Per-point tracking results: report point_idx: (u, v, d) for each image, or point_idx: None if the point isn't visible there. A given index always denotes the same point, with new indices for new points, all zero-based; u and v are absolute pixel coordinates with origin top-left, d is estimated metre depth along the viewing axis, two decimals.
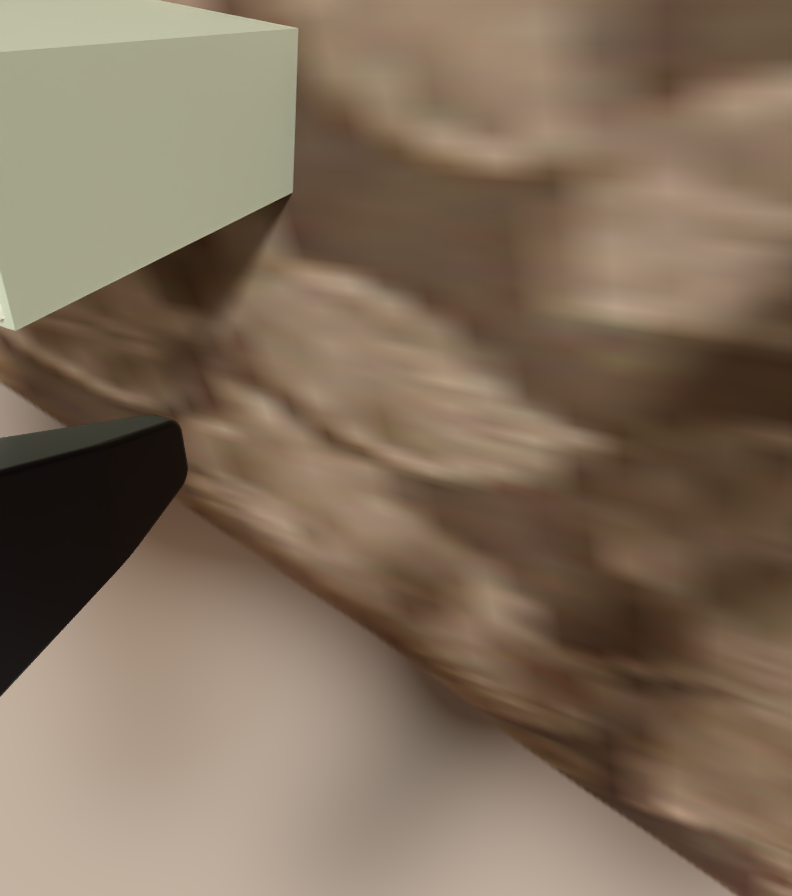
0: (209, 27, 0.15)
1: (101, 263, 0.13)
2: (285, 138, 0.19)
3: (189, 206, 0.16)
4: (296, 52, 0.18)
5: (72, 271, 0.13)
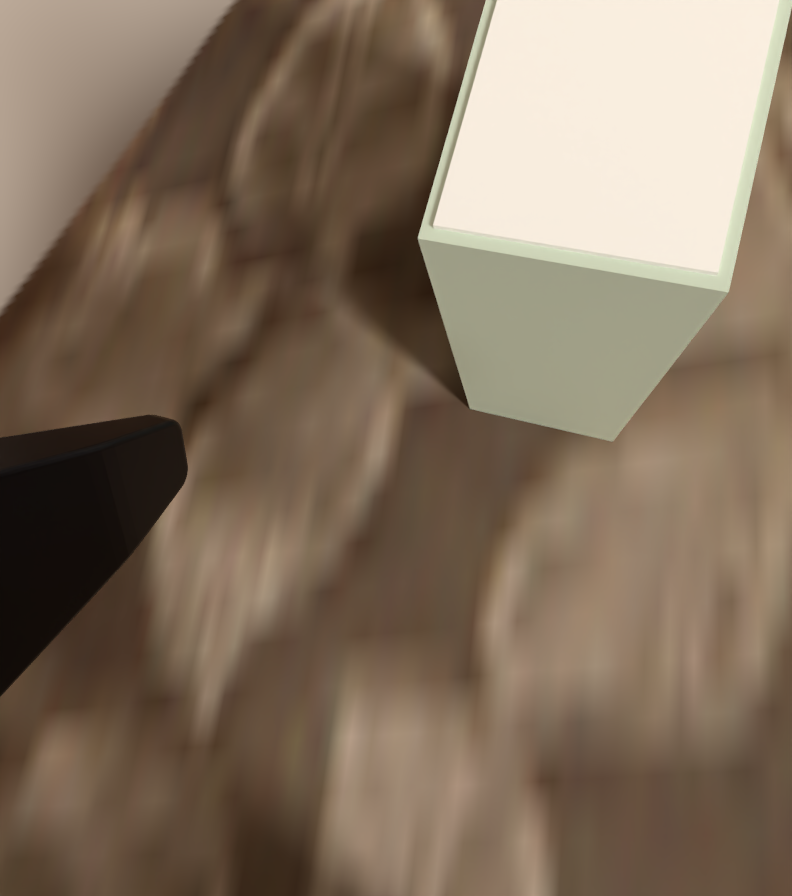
0: None
1: (463, 306, 0.12)
2: (523, 416, 0.19)
3: (491, 362, 0.15)
4: (593, 436, 0.19)
5: (465, 289, 0.11)
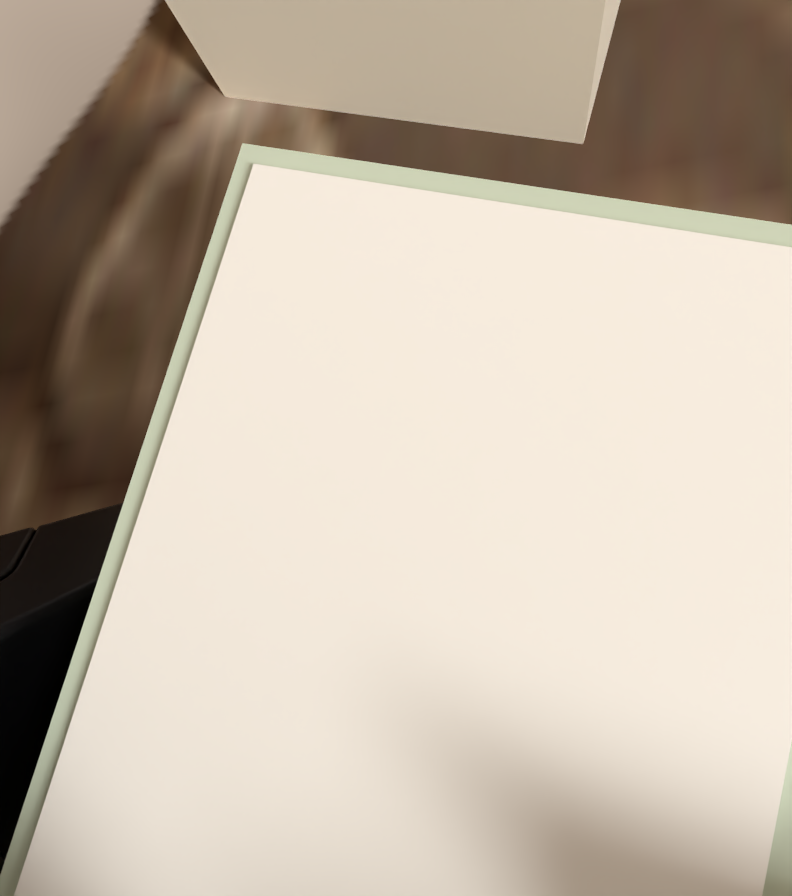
0: None
1: None
2: None
3: None
4: None
5: None
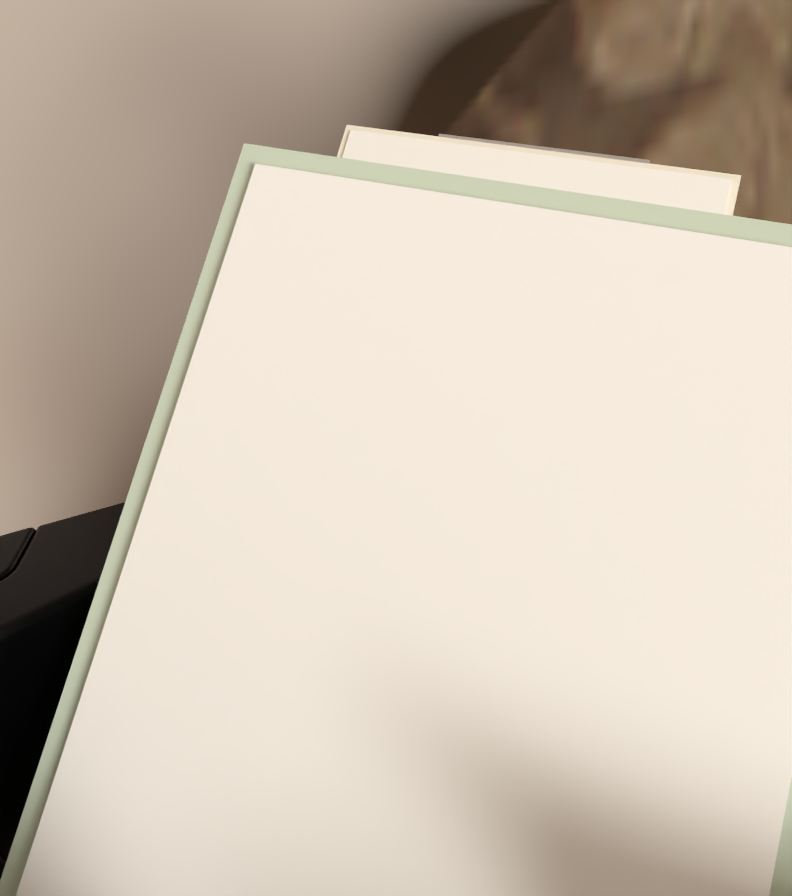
0: None
1: None
2: None
3: None
4: None
5: None
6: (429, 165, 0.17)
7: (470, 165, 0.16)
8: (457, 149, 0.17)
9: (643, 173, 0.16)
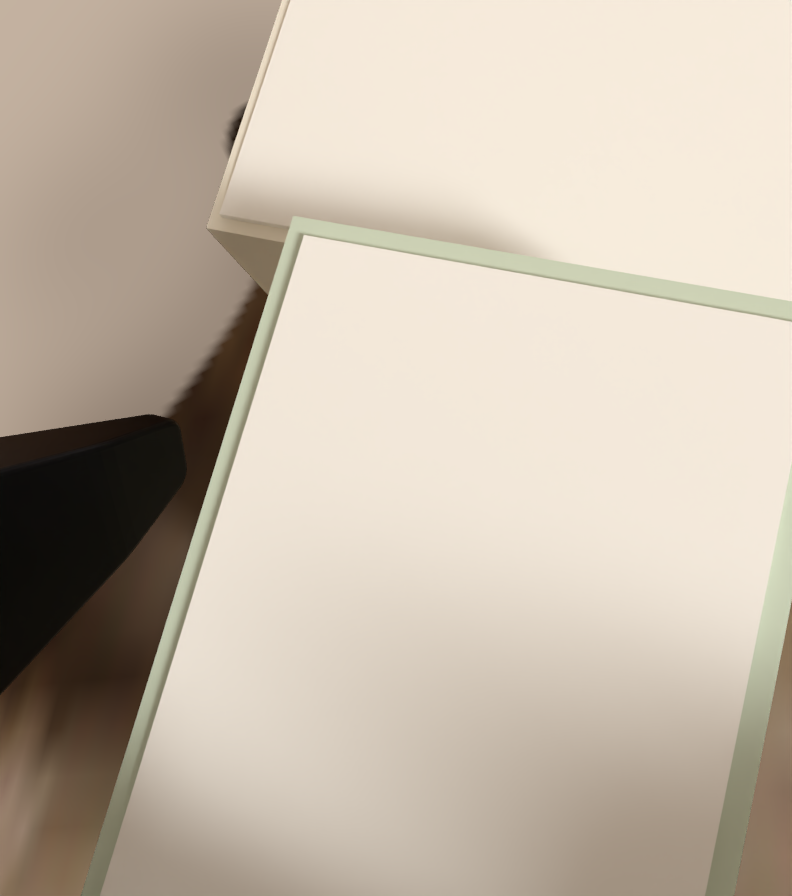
0: None
1: None
2: None
3: None
4: None
5: None
6: None
7: None
8: None
9: None
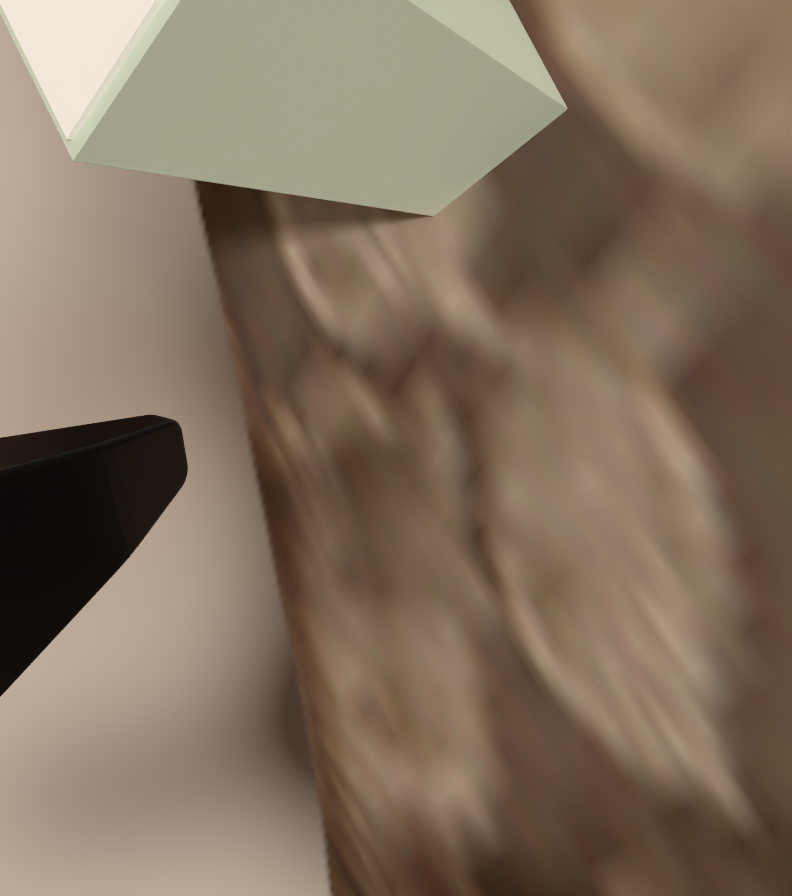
0: (503, 45, 0.13)
1: (216, 162, 0.11)
2: (471, 176, 0.17)
3: (341, 170, 0.13)
4: (547, 124, 0.16)
5: (182, 150, 0.10)
6: None
7: None
8: None
9: None
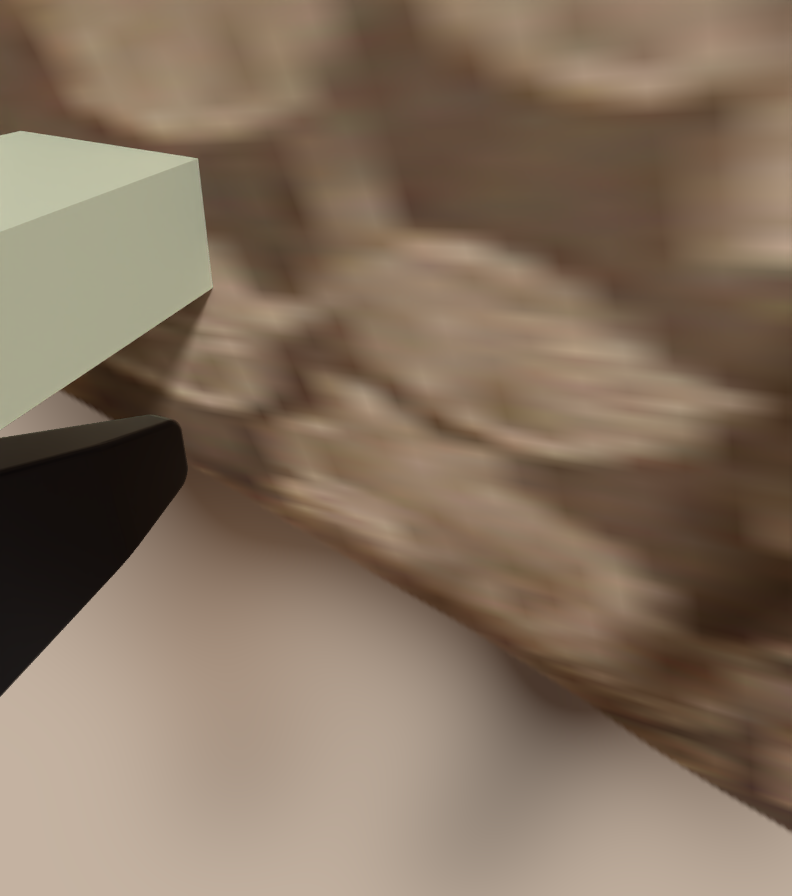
0: (113, 177, 0.19)
1: (29, 390, 0.17)
2: (198, 247, 0.22)
3: (107, 325, 0.19)
4: (198, 177, 0.21)
5: (3, 402, 0.16)
6: None
7: None
8: None
9: None
